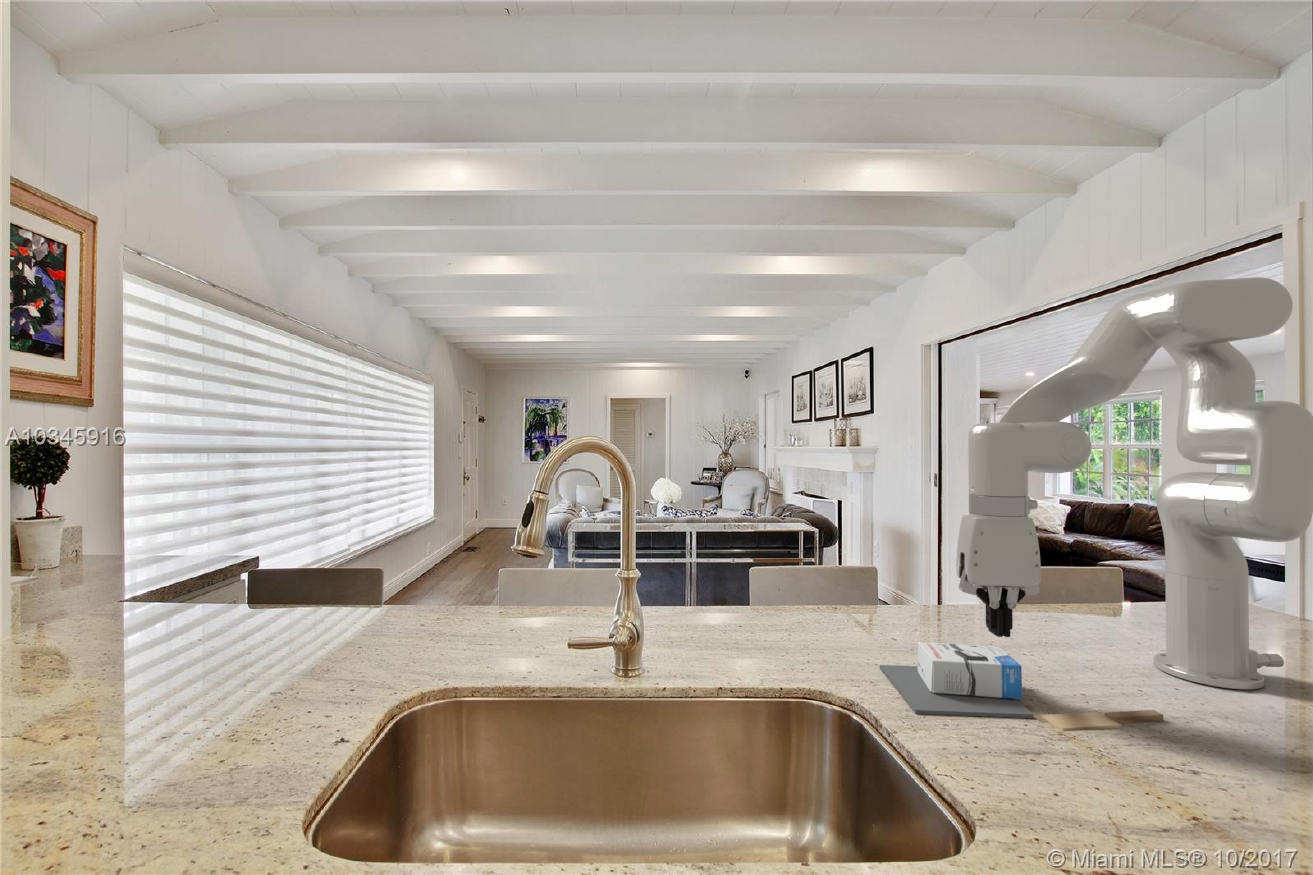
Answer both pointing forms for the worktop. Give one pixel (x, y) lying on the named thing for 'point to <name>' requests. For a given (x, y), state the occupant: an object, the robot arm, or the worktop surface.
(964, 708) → the mat
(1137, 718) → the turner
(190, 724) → the worktop surface
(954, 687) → the ink box
